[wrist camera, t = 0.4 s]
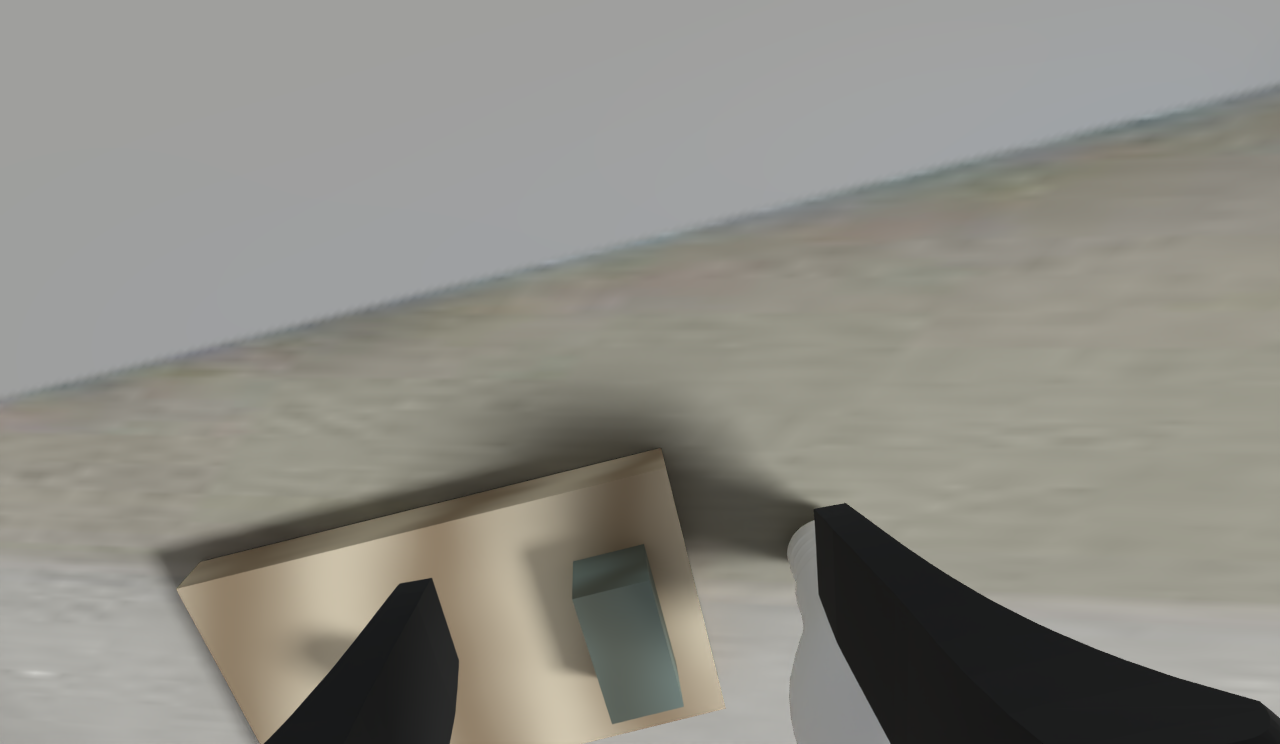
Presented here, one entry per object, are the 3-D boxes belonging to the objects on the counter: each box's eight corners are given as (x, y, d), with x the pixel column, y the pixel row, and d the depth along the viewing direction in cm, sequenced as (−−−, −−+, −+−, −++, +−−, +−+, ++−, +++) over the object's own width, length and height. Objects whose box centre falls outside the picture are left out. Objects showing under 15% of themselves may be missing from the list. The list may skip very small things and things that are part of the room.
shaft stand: (661, 448, 24) (678, 516, 20) (718, 678, 27) (743, 780, 23) (199, 561, 24) (117, 655, 20) (312, 778, 27) (262, 897, 23)
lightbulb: (696, 534, 25) (777, 820, 15) (834, 426, 24) (1025, 649, 14) (798, 636, 27) (934, 957, 16) (930, 539, 26) (1164, 814, 15)
